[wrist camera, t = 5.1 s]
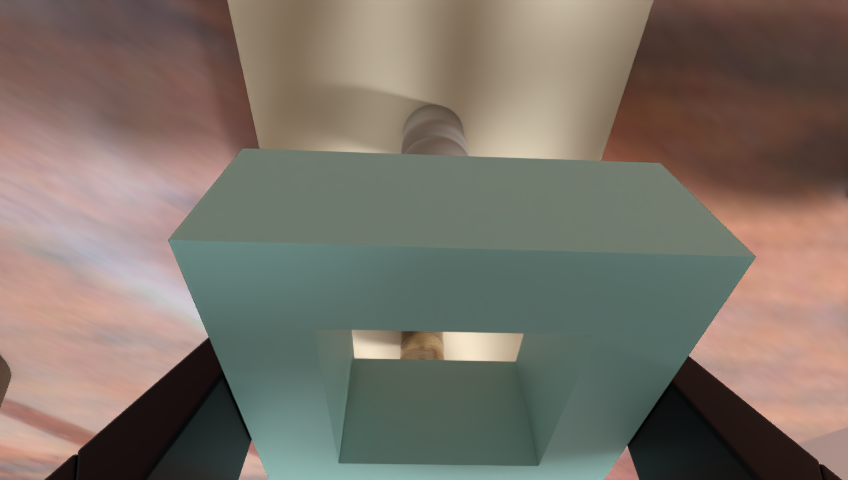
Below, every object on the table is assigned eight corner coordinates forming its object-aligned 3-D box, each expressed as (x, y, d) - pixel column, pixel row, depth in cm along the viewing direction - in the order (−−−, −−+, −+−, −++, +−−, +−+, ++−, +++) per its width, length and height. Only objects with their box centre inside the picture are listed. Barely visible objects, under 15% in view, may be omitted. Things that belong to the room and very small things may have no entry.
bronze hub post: (444, 320, 23) (448, 387, 20) (441, 347, 24) (444, 414, 21) (401, 319, 23) (397, 386, 19) (400, 346, 24) (397, 413, 21)
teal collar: (660, 162, 7) (755, 256, 5) (560, 396, 11) (591, 497, 9) (242, 148, 7) (167, 240, 5) (301, 391, 11) (275, 494, 9)
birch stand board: (635, -9, 15) (731, 20, 10) (522, 367, 28) (541, 452, 23) (239, -27, 14) (153, -6, 10) (314, 363, 28) (293, 448, 23)
